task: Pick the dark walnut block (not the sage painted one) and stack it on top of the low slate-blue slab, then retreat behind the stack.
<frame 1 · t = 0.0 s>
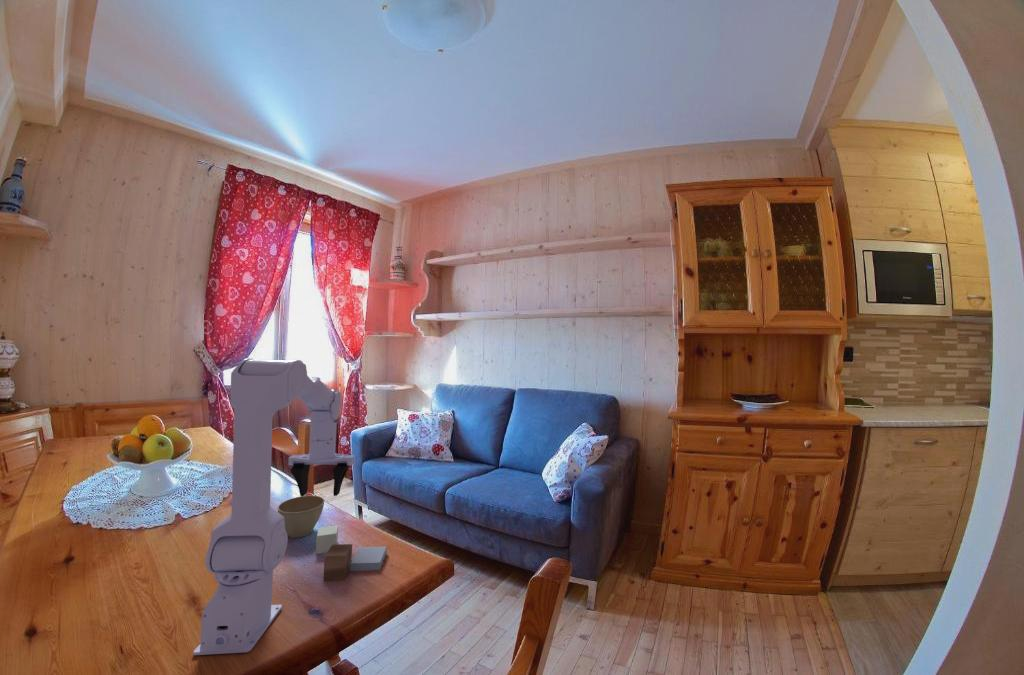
hand: (320, 494, 87), 10 cm above the table, fingers open, 7 cm apart
walnut block: (337, 574, 72), on the table
flower pot: (300, 533, 88), on the table
sage block: (326, 548, 82), on the table
slate slab: (368, 563, 77), on the table
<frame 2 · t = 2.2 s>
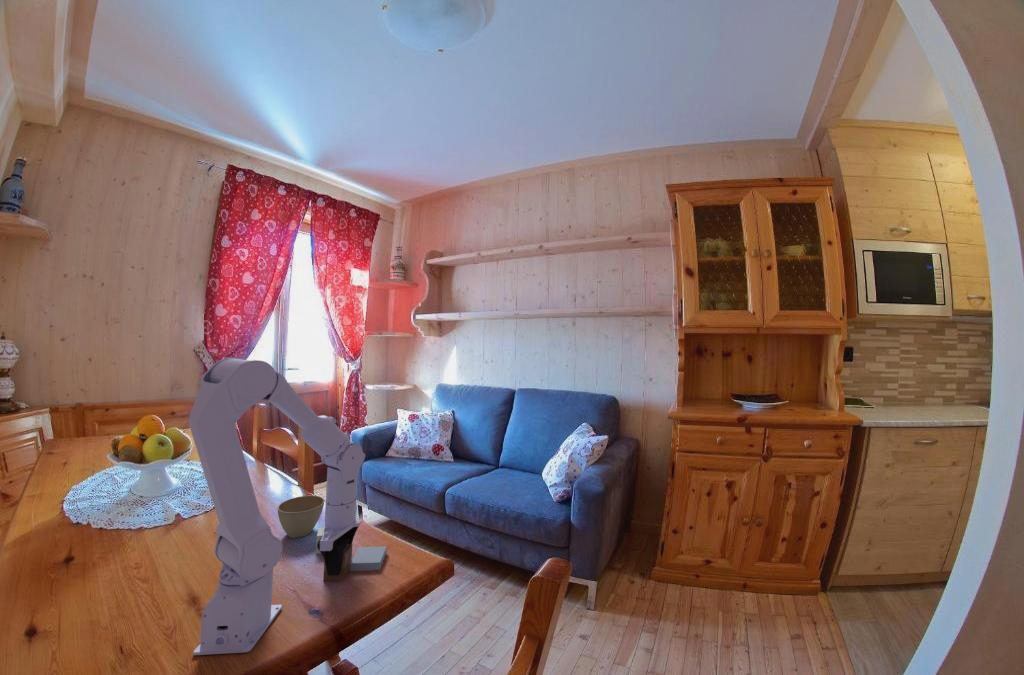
hand: (338, 567, 72), 1 cm above the table, fingers closed on walnut block, 4 cm apart
walnut block: (337, 574, 72), on the table, touching gripper
everything else where it was.
when the fingers open (4 cm above the table, at t = 5.2 s): walnut block drops 1 cm, point 1 cm above the table.
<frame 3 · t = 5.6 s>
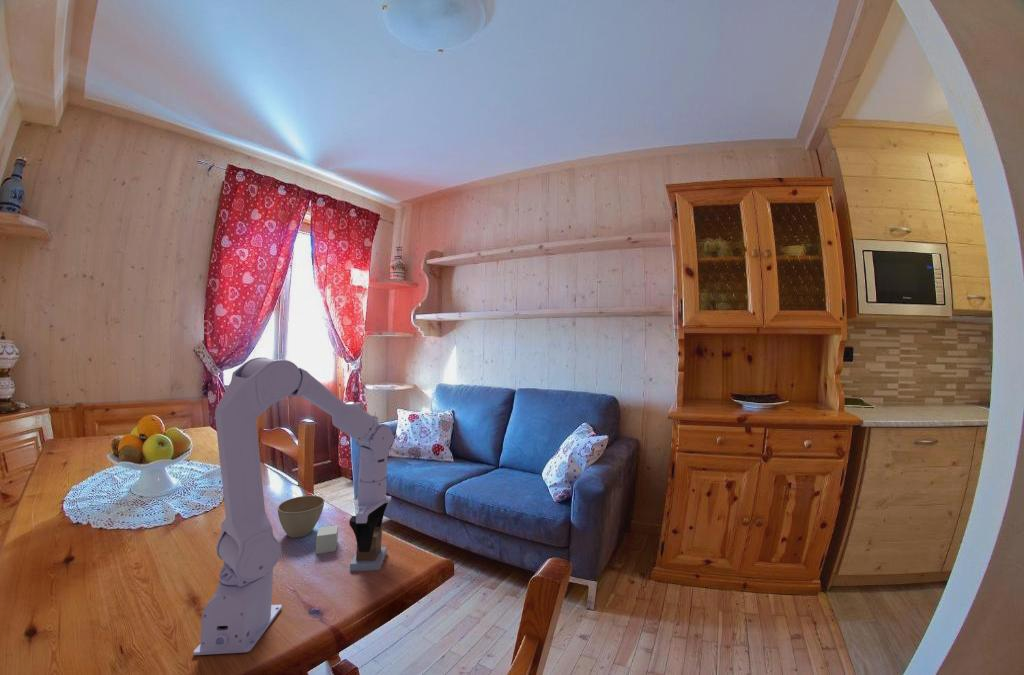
hand: (369, 541, 77), 4 cm above the table, fingers open, 7 cm apart
walnut block: (368, 555, 77), point 1 cm above the table
everything else where it was.
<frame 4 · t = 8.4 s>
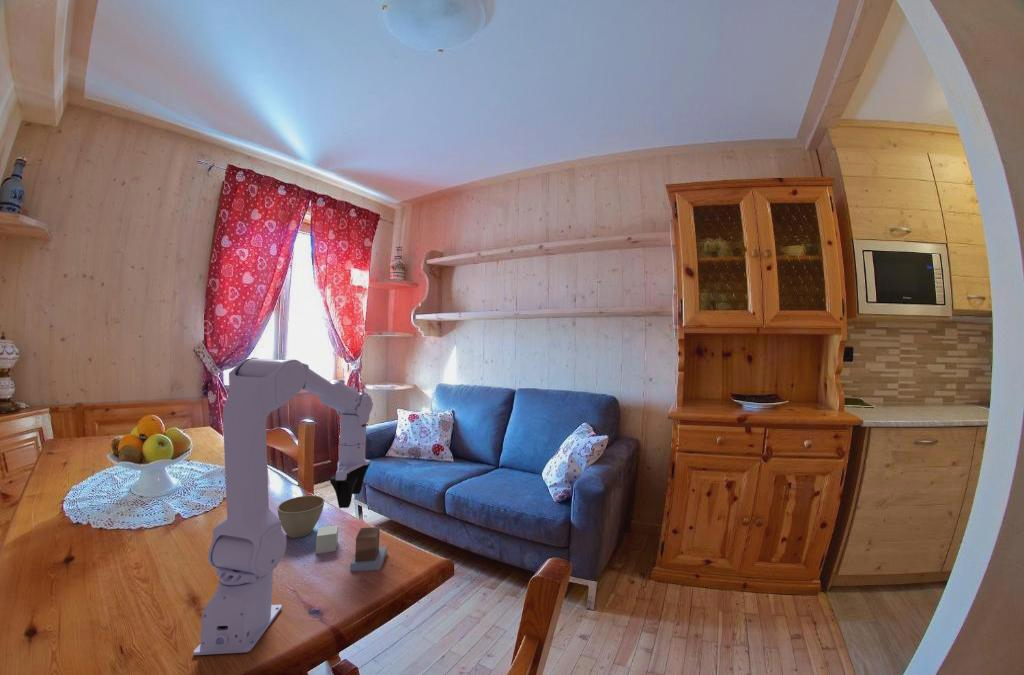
hand: (350, 500, 84), 10 cm above the table, fingers open, 7 cm apart
walnut block: (367, 555, 77), point 1 cm above the table, touching slate slab
slate slab: (368, 564, 77), on the table, touching walnut block
everything else where it was.
at the end: walnut block 0.4 cm off-centre on the slate slab, point 2.0 cm above the slate slab's base; walnut block tilted 1°; the gripper is holding nothing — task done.
